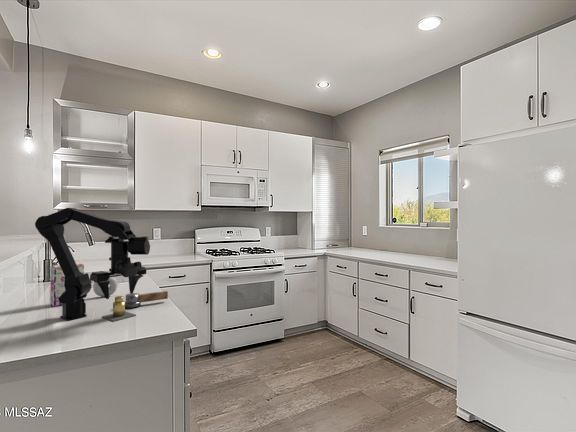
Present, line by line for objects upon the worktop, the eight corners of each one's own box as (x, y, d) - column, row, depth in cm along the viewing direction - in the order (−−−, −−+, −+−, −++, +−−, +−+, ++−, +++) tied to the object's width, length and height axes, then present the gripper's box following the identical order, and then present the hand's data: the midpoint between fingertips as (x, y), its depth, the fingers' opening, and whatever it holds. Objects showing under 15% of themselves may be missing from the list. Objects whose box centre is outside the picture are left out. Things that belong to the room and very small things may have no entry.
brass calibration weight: (116, 317, 120) (116, 298, 120) (110, 315, 123) (110, 297, 123) (127, 315, 124) (127, 296, 124) (121, 313, 126) (121, 294, 126)
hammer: (125, 308, 131) (125, 297, 131) (122, 304, 137) (122, 294, 137) (169, 302, 142) (169, 291, 141) (164, 298, 147) (165, 288, 147)
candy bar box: (54, 307, 134) (54, 267, 134) (49, 305, 137) (49, 266, 137) (84, 301, 143) (84, 263, 143) (79, 299, 146) (79, 262, 146)
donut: (93, 299, 147) (93, 276, 147) (92, 297, 150) (92, 275, 150) (118, 296, 153) (118, 274, 153) (117, 294, 156) (117, 273, 156)
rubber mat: (113, 321, 117) (113, 320, 117) (101, 317, 122) (101, 316, 122) (136, 315, 124) (136, 314, 124) (123, 311, 129) (123, 310, 129)
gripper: (105, 259, 111) (105, 305, 111) (154, 253, 126) (155, 294, 126) (89, 256, 117) (89, 300, 117) (138, 251, 132) (138, 290, 133)
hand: (119, 296), depth 123 cm, fingers open, 9 cm apart
